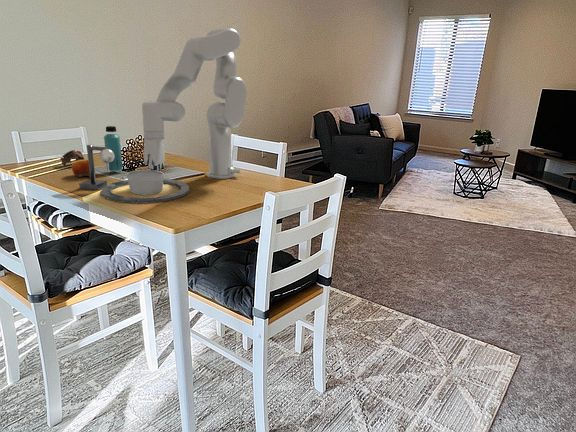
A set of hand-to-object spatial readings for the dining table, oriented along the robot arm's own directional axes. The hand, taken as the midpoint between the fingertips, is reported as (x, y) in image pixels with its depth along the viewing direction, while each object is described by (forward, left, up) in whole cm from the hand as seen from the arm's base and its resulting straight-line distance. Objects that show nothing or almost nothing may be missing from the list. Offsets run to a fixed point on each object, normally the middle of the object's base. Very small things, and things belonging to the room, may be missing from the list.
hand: (156, 181), depth 165 cm
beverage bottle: (+25, -15, -2) cm, 29 cm away
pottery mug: (+48, -22, -2) cm, 53 cm away
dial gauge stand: (+18, +9, -2) cm, 21 cm away
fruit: (+34, -6, -2) cm, 34 cm away
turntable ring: (0, +9, -2) cm, 10 cm away
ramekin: (0, +10, -2) cm, 10 cm away
